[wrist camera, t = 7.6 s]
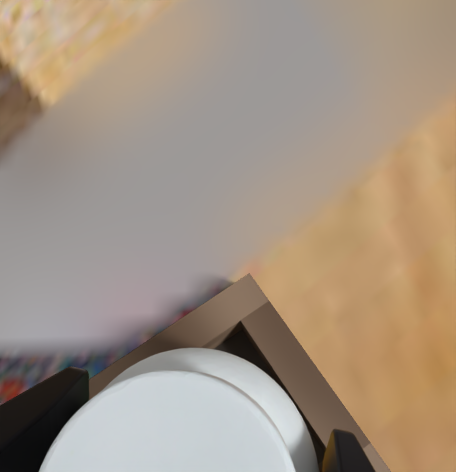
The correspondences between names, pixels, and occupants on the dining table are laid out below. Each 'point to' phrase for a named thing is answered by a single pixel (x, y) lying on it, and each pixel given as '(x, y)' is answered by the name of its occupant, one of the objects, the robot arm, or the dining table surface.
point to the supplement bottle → (186, 421)
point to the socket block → (254, 358)
